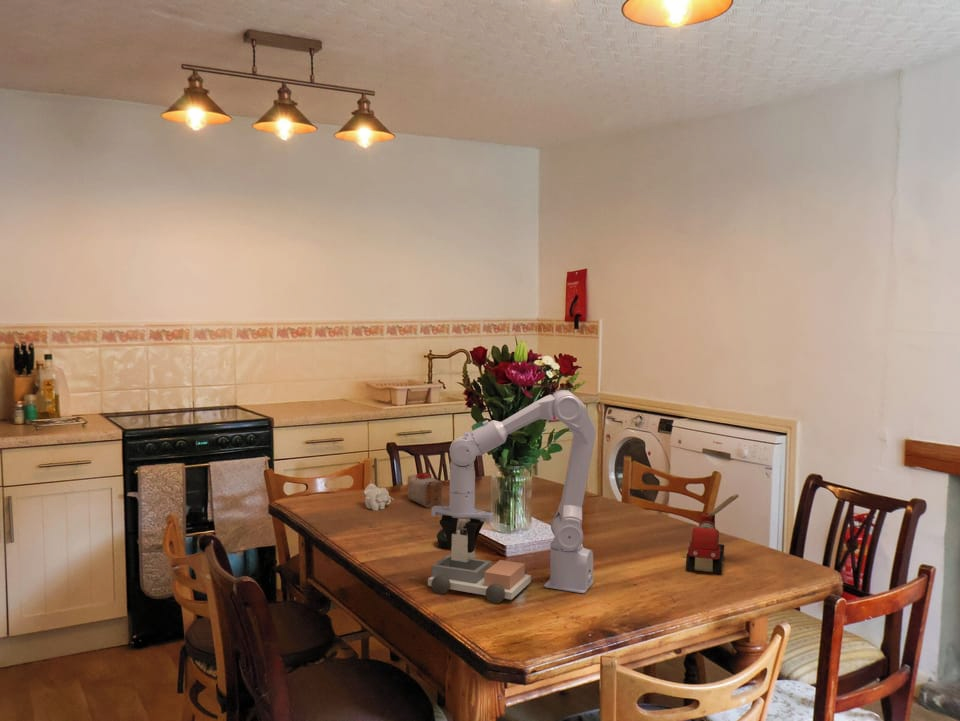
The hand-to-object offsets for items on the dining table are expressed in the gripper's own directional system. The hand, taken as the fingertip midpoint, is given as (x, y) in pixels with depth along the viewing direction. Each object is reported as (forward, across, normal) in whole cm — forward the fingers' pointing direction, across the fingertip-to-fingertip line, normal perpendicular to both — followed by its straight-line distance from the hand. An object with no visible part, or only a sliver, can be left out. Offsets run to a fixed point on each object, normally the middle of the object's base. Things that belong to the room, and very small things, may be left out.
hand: (461, 550), depth 184 cm
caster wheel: (+8, +14, -27) cm, 32 cm away
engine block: (+2, 0, -1) cm, 2 cm away
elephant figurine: (+8, +52, -50) cm, 72 cm away
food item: (+8, +42, -62) cm, 75 cm away
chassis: (+8, -4, 0) cm, 9 cm away
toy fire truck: (+8, -50, -38) cm, 63 cm away
